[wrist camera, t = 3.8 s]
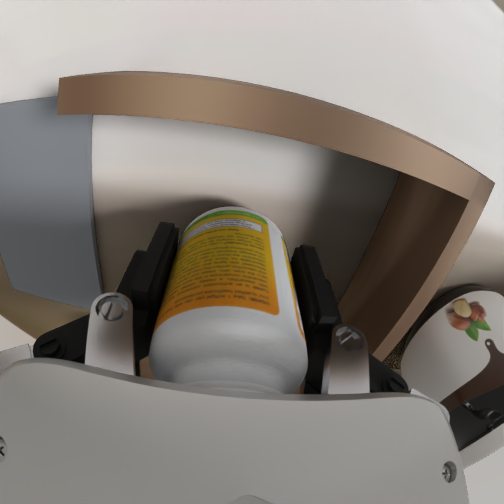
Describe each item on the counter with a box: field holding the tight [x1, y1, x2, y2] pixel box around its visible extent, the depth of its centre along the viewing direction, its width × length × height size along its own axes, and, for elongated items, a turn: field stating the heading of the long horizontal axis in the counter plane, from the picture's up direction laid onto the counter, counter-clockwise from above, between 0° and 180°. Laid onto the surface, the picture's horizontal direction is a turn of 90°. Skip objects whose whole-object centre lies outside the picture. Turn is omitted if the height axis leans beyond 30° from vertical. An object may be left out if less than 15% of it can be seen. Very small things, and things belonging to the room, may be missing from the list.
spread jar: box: [390, 285, 504, 469], centre depth 14 cm, size 12×11×12 cm
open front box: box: [57, 71, 495, 394], centre depth 12 cm, size 13×14×4 cm
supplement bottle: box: [149, 206, 308, 394], centre depth 9 cm, size 5×5×8 cm
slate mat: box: [0, 97, 104, 310], centre depth 11 cm, size 8×12×1 cm, turn 168°
